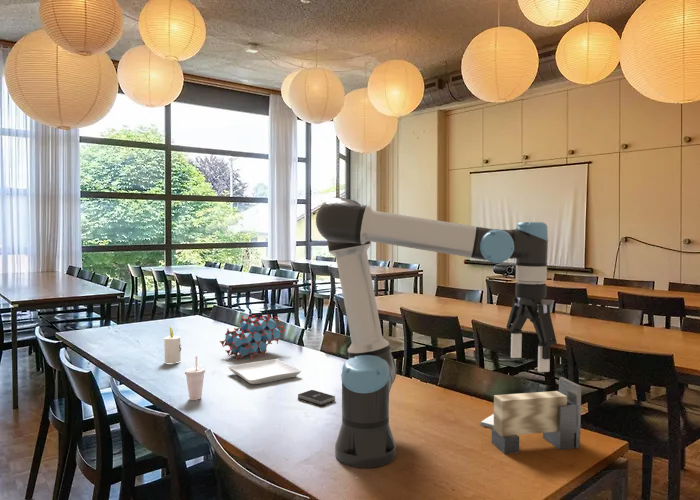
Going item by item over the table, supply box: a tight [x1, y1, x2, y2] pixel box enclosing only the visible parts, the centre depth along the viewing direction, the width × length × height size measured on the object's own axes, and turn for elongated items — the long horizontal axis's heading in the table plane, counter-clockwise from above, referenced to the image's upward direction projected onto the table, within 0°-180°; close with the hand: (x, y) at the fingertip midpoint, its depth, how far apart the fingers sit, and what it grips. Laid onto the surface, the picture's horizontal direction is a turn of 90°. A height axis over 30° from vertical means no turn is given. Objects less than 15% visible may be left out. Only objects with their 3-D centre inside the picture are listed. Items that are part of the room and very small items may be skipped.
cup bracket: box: [542, 377, 582, 451], centre depth 135 cm, size 6×8×16 cm
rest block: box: [491, 427, 520, 455], centre depth 132 cm, size 4×7×4 cm, turn 11°
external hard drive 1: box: [297, 389, 336, 407], centre depth 168 cm, size 7×11×2 cm, turn 49°
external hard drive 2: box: [479, 413, 494, 429], centre depth 149 cm, size 2×8×12 cm
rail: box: [493, 390, 567, 436], centre depth 133 cm, size 18×4×9 cm, turn 101°
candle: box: [163, 326, 182, 363], centre depth 215 cm, size 6×6×15 cm
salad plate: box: [228, 358, 302, 385], centre depth 196 cm, size 21×21×3 cm
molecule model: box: [219, 314, 286, 360], centre depth 227 cm, size 16×14×25 cm
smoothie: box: [184, 355, 206, 401], centre depth 170 cm, size 6×6×14 cm
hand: (529, 364), depth 133 cm, fingers open, 13 cm apart
